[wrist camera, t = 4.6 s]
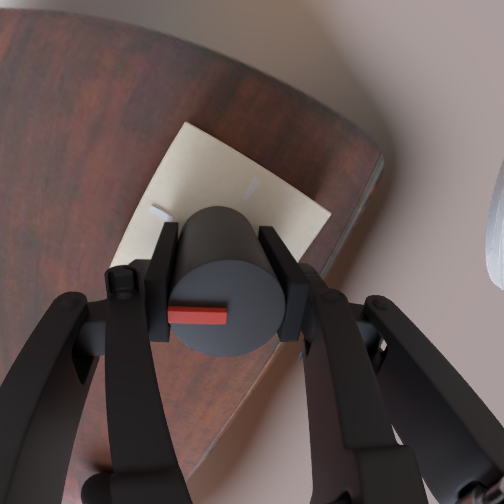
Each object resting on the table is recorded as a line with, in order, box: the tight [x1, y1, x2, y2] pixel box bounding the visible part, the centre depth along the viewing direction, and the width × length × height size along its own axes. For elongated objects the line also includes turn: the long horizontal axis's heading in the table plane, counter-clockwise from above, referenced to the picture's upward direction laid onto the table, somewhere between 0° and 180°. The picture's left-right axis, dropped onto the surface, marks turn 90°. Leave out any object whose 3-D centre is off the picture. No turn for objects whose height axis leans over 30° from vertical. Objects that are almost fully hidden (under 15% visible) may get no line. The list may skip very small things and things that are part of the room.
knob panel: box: [110, 122, 331, 268], centre depth 18 cm, size 10×10×3 cm
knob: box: [167, 206, 286, 357], centre depth 14 cm, size 4×4×7 cm
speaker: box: [81, 473, 113, 504], centre depth 28 cm, size 10×10×10 cm
